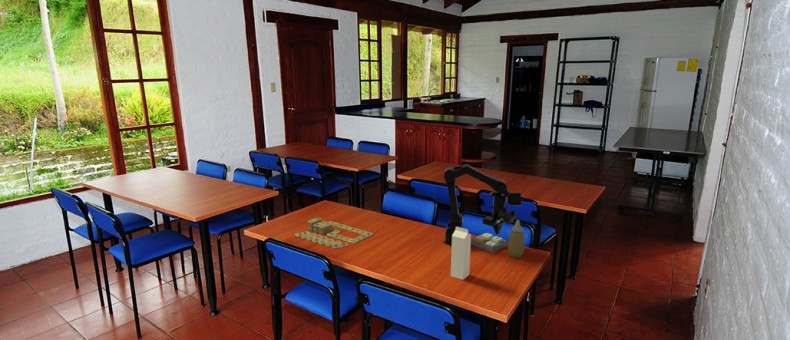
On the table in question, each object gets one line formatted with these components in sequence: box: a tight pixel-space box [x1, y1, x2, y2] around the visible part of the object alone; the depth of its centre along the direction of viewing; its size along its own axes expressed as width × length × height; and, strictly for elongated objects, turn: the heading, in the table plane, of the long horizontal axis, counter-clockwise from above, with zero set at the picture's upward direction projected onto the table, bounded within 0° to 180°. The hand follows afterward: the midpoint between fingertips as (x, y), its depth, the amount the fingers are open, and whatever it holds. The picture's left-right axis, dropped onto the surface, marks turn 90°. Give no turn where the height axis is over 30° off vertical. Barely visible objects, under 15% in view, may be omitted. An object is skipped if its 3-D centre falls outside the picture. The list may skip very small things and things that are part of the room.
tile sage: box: [481, 232, 494, 240], centre depth 219 cm, size 4×4×2 cm
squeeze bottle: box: [506, 219, 526, 259], centre depth 202 cm, size 8×8×18 cm
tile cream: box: [485, 241, 496, 246], centre depth 211 cm, size 4×4×2 cm
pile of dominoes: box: [294, 217, 374, 250], centre depth 228 cm, size 35×27×6 cm
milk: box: [450, 227, 472, 281], centre depth 181 cm, size 6×6×22 cm
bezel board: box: [471, 234, 508, 254], centre depth 215 cm, size 12×13×3 cm
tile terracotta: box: [474, 234, 487, 243], centre depth 215 cm, size 4×4×2 cm
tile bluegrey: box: [491, 235, 504, 244], centre depth 214 cm, size 4×4×2 cm
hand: (497, 234), depth 213 cm, fingers closed
